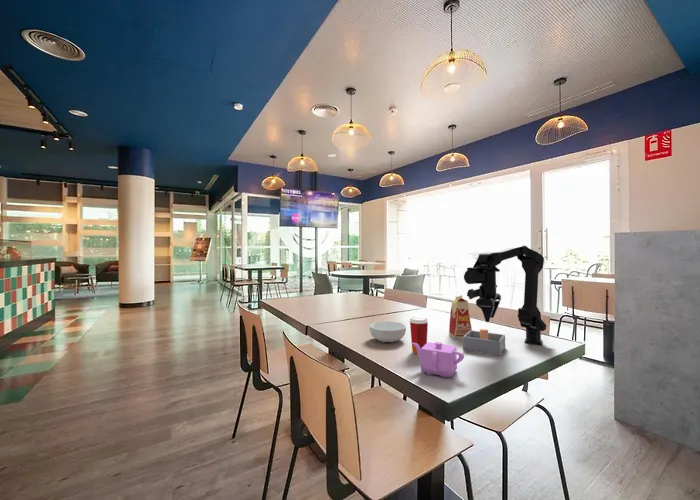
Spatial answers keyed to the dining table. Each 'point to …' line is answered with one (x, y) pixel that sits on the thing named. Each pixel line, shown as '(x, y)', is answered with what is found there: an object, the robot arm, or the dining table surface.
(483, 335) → the peg
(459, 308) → the milk carton
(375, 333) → the cereal bowl
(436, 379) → the dining table surface
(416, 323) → the paper cup
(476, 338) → the box
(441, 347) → the teapot
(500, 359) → the dining table surface
